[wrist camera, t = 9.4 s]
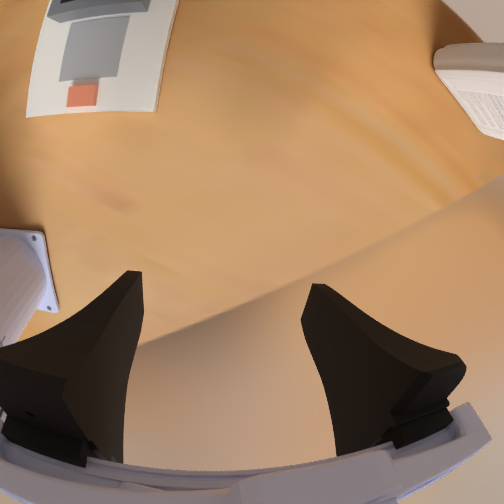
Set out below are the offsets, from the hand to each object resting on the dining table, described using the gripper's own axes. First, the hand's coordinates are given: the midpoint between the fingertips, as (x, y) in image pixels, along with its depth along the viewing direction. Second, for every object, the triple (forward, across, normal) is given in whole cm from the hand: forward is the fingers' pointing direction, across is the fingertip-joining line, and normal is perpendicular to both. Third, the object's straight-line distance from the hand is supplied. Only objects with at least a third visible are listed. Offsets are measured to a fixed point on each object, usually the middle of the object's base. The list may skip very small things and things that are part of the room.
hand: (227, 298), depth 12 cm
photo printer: (+10, -20, -16) cm, 27 cm away
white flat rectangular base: (+9, +10, -15) cm, 20 cm away
